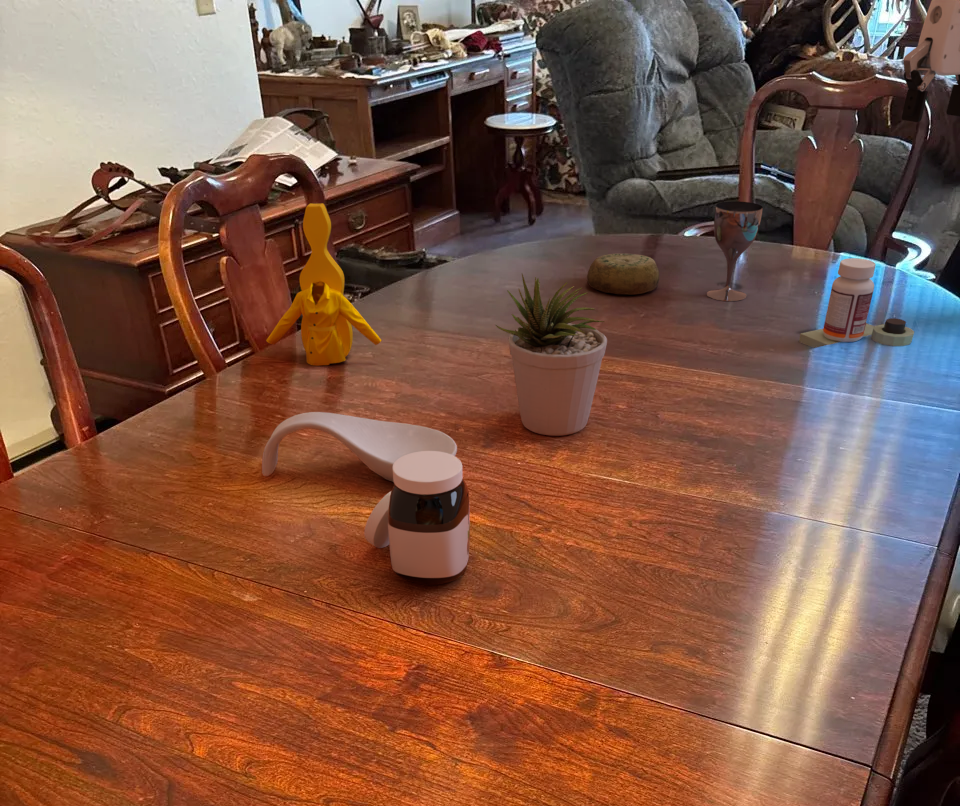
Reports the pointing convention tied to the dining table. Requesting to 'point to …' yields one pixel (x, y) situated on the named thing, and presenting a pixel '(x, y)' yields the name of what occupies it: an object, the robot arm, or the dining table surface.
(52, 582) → the dining table surface
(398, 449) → the spoon rest
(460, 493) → the spread jar
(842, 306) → the pill bottle
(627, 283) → the cheese wheel
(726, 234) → the wine glass
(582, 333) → the potted plant
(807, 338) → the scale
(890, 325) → the button
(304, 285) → the figure statuette
